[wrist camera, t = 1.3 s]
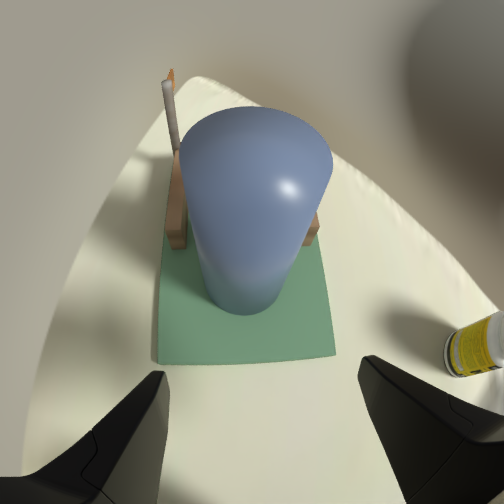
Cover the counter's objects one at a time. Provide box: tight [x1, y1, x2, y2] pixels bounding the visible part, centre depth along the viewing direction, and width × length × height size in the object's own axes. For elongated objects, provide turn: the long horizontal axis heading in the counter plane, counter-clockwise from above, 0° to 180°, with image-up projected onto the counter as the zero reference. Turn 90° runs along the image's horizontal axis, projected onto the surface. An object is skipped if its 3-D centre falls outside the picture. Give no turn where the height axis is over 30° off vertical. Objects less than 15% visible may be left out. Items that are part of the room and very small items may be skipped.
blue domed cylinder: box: [179, 106, 333, 316], centre depth 16 cm, size 6×6×13 cm
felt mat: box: [158, 168, 336, 365], centre depth 24 cm, size 19×13×1 cm
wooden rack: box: [161, 69, 320, 250], centre depth 21 cm, size 12×12×10 cm
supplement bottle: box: [444, 311, 504, 378], centre depth 17 cm, size 5×5×8 cm
